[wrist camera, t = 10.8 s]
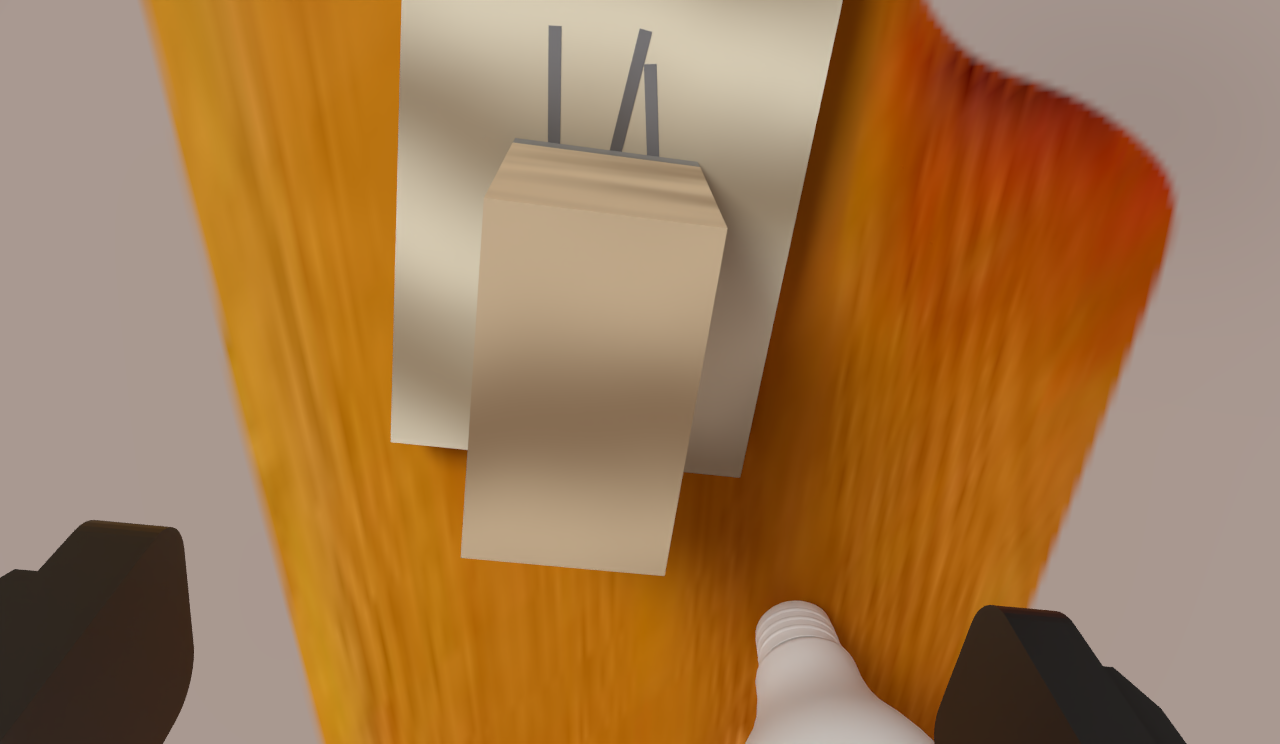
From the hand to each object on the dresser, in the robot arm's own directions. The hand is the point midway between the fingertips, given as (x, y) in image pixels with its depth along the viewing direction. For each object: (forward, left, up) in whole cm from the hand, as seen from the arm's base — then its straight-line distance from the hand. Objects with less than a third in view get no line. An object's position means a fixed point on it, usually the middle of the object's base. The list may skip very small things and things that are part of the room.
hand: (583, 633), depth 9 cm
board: (-2, 0, -16) cm, 17 cm away
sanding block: (+2, 0, -15) cm, 15 cm away
